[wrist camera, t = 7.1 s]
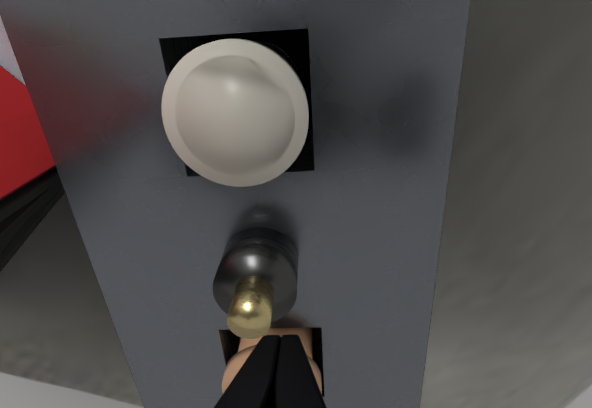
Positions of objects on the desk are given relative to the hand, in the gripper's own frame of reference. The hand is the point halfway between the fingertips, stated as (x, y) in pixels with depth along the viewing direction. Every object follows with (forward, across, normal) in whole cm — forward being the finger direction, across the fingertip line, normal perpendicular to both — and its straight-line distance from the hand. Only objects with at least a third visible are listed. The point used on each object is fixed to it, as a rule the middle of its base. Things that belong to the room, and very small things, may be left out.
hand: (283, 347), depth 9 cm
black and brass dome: (+6, +2, +2) cm, 7 cm away
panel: (+11, +2, +2) cm, 11 cm away
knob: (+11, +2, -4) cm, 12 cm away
